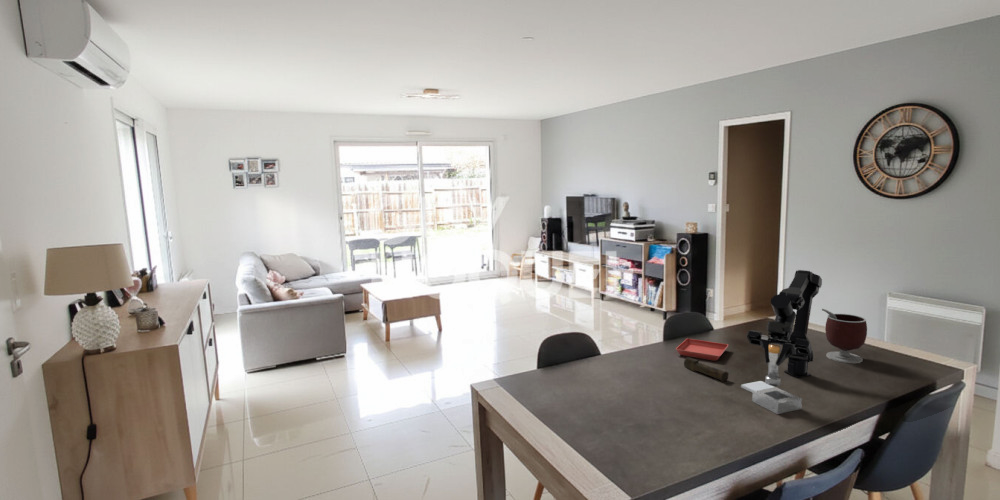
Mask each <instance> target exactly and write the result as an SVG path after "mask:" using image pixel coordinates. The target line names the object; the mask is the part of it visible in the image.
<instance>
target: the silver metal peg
mask: <svg viewBox="0 0 1000 500" xmlns="http://www.w3.org/2000/svg"><path fill="white" fill-rule="evenodd" d="M780 348H781V345H779V344H773V343H771V344H770V345H769V361H768V364H767V368H768V370H767V375H765V377H764V378H765V380H764V382H765V383H766V384H768V385H771V386H774V387H779V386H781V380H782V379H781V377H780V376H779V368H780V367H779V366H780V365H779V366H777V362H778V358H779V356H780V353H781V351H780V350H781V349H780Z"/></svg>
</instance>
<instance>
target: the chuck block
mask: <svg viewBox="0 0 1000 500" xmlns="http://www.w3.org/2000/svg"><path fill="white" fill-rule="evenodd" d="M802 400H803V398H802V397H799V396H798V395H795V394H792V393H790V392H788V391H786V390H783V389H781V388H779V387H778V386H774V387H773V388H768V389H763V390H758V391H753V393H752V400H751V402H753V403H754V404H756V405H758V406H760V407H762V408H764V409H766V410H769V411H770V412H772V413H774V414H776V415H779V414H784V413H788V412H789V413H790V412H792V411H798V410H801V409H802V406H803V405H802V404H803V403H802Z"/></svg>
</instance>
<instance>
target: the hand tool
mask: <svg viewBox="0 0 1000 500" xmlns="http://www.w3.org/2000/svg"><path fill="white" fill-rule="evenodd" d="M683 366H684V367H685V368H686V369H688V370H690V371H692V372H699V373H701V374H705V375H707V376H709V377H711V378H714V379H717V380H719V381H720V382H721V383H724V382H727V381H728V379H729V372H728V371H727V370H726V371H723V370H721V369H719V368H715V367H712V366H709V365H707V364H704V363H701V362H699V360H698V359H695V358H694V357H690V356H686V357H685V359H684V361H683Z"/></svg>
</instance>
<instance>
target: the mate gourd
mask: <svg viewBox="0 0 1000 500" xmlns="http://www.w3.org/2000/svg"><path fill="white" fill-rule="evenodd" d="M821 311H824V312H825V313H827V317H826V322H825V337H826V340H827V341H828V343H829V344H830V345H831V346H833V347H835V348H837V349H839V351H829V352H827V353H826V356H825V357H826V358H828V359H829V360H831V359H832V360H831V361H835V362H837V363H842V364H843V363H845V364H861V363H862V362H863V360H864V359H863V358H862V356H860V355H857V354H854V353H851V352H850V351H852V350H857V349H858V350H859V349H860V348H861V347H862V346H864V344H865V343H866V338H867V335H868V325H867V319H866V318H865V317H862V316H859V315H855V314H850V313H849V314H848V313H833V312H831V311H829V310H827V309H825V308H821Z"/></svg>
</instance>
